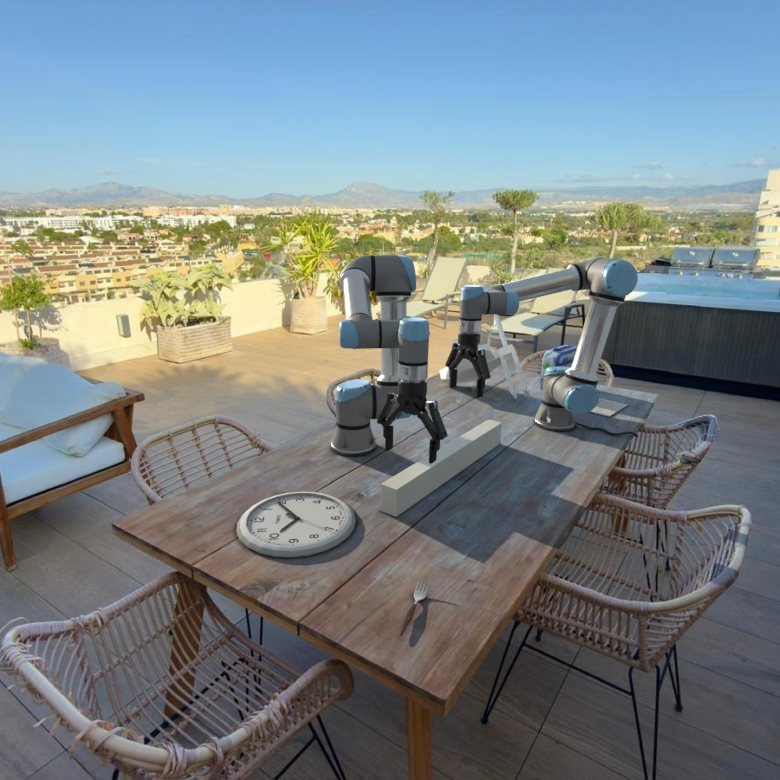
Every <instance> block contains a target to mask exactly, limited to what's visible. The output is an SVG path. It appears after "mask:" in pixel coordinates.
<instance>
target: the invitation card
mask: <svg viewBox="0 0 780 780" xmlns="http://www.w3.org/2000/svg"><path fill="white" fill-rule="evenodd" d="M628 406H629V404H627V403H623V402H618V401H614V400H609V399H605V398H601V397H599V401H598V403H597V405H596V407H595V408H594V409H593V410H591V411H589V412H588V413H593V414H596V415H600V416H604V417H608V418H609V417H611V416H613V415H614V414H616V413H617V412H619V411H621V410H623V409H624V408H626V407H628Z"/></svg>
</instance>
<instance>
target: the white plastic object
mask: <svg viewBox="0 0 780 780" xmlns="http://www.w3.org/2000/svg"><path fill="white" fill-rule="evenodd" d="M492 315H493V319H494V321H495V324H496V325H495V326H496V328H497V332H498V335H499V338H500V342H501V345H502V347H500V348H498V349H496V350H495V349H493V348H492V347H491V346H490V344H489V343H488V342H487V343H483V344H479V345H478V349H479V350H482V349H484V350H485V357H486V361H487V365H488V368H489V372H490V373H492V372H494V371H495V370H496V369H497V368H499V367H500V366H502V370H503V373H504V376H505V380H506V383H507V386H508V390H509V393H510V394H511V395H512V397H513V398H514V399H515V400H517V392H516V391H517V390H516V388H515V385H514V381H513V378H512V375H511V371H510V369H509V365H508V361H510V360H513V363H514V366H515V369H516V372H517V376H518V380H519V382H520V385H521V389H522V391H523V393H524V395H525V396H526V397H528V396H531V395H530V390H529V388H528V387H529V386H528V384H527V381H526V378H525V375H524V371H523V369H522V368H523V367H522V366H521V362H520V359H519V355H518V352H517V349H516V347H515V346H514V345H513V343H511V344H508V341H507V337H506V334H505V331H504V328H503V325H502V321H501V318H500V315H494V314H492ZM453 343H458V338H454V340H453ZM458 353H459V352H458ZM456 357H457V356H456ZM474 359H475V358H474ZM456 369H457V385H458V384H467V383H468V384H469V383H473V384H477V379H478V376H477V373H476V371H475V369H474V367H473V364H472V363H471V362H470V360H467V359H463V360H462V361H461V362H460V363H459V365H458V366H457V368H456ZM438 372H439V376H440V381H442V383H443V384H444V385H445V386H449V385H450V378H449V367H446V366H445V367H444V368H442V369H440V370H439V371H438ZM481 376H482V375H481Z"/></svg>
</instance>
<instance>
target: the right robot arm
mask: <svg viewBox="0 0 780 780" xmlns="http://www.w3.org/2000/svg"><path fill="white" fill-rule="evenodd" d="M638 281H639V276H638V271H637V270H636V267H635V266H634V265H633V264H632V263H631V262H630V261H627V260H624V259H622V258H611V257H601V256H600V257H595V258H594V257H593V258H591V259H587V260H584V261H583V260H582V261H580V262H576V263H572V264H568V266H567V268H564V269H560V270H556V271H552V272H548V273H543V274H539V275H535V276H530V277H527V278H523V279H519V280H514V281H509V282H505V283H502V284H501V283H500V284H497V285H493V286H490V285H487V286H483V285H478V284H475V285H474V284H466V285H462V287H461V289H460V294H459V295H460V296H459V313H458V314H459V316H458V331H459V332H458V333H457V339H458V343H454V342H452V345H451V350H450V353H449V355H448V357H447V359H446V362H445V363H444V364H445V368H446V367H449V378H450V385H448V386H449V387H448V388H450V389H453V388H457V385H458V384H457V369H456V368H457V366H458V365H459V363H460V362H461V361H462V360H463V359H467V360H470V362H471V363H472V364H473V367H474V369H475V371H476V373H477V376H478V379H477V383H475V384H476V387H475V398H476V399H481V398H484V390H485V388H486V380H488V379H491V378H492V377H491V372H489V368H488V365H487V361H486V357H485V350H484V349H482V350H479V349H478V345H481V333H480V332H482V322H483V321H482V319H483V315H493V314H494V315H498V316H500V315H501V316H503V315H505V316H508V315H515V314H516V313H518V311H519V308H520V302H525V301H529V300H532V299H537V298H541V297H546V296H549V295H553V294H557V293H561V292H566V291H570V290H571V291H572V292H578V291H589V292H588V295H587V296H588V298H589V300H590V304H589V307H588V311H587V314H586V316H585V320H584V324H583V327H582V330H581V335H580V337H579V340H578V344H577V345H576V346H577V350H576V353H575V356H574V359H573V363H572V366H571V367H548V368H546V370H545V373H544V381H543V390H541V391H542V394H541V402H540V405H539V407H538V410H537V411H536V413H535V416H534V424H535V425H536V426H537V427H539V428H542V429H544V430H549V431H556V432H567V431H572V430H574V429H575V428H576V425H577V426H580V427H583V428H585V429H587V430H592V431H601V432H604V433H606V434H608V435H610V436H616V437H617V436H625V435H632V436H634V437H635V438H639V435H638V434H637V433H635V432H633V431H624V432H612V431H609V430H608V429H605V428H602V427H592V426H588V425H586V424H584V423H581V422H578V421H576V418H575V417H576V416H575V415H586V414H588V413H590V412H589V411H591V410H593V409H594V408H595V407H596V405H597V403H598V401H599V398H600V394H599V391H598V389H597V386H598V383H599V377H598V375H597V371H598V368H599V365H600V361H601V358H602V356H603V353H604V351H605V350H604V349H605V346H606V343H607V341H608V337H609V334H610V331H611V328H612V325H613V322H614V318H615V315H616V312H617V309H618V307H619V306H622V305H623V304H624V303H625V300H626V298H627V297H626V296H628V295H630V294H631V293H632V292H633V291H634V290H635V289H636V287H637V284H638ZM494 315H493V316H494ZM458 352H459V353H458ZM456 356H457V357H456ZM474 358H475V359H474ZM481 375H482V376H481Z"/></svg>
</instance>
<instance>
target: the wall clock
mask: <svg viewBox="0 0 780 780" xmlns="http://www.w3.org/2000/svg"><path fill="white" fill-rule="evenodd" d="M356 522H357V518H356V515H355V512H354V510H353V509H352V508H351V507H350V505H349V504H348V503H346V502H345V501H343V500H341V499H339V497H335V496H332V495H329V494H327V493H321V492H315V491H293V492H285V493H280V494H275V495H273V496H270V497H268V498H264V499H262V500H260V501H259V502H257V503H255V504H253V505H251V506H250V507H249V508H247V510H246V511H245V512H244V513H242V514H241V516H240V518H239V519H238V521H237V523H236V535H237V537H238V540H239V541H240V542H241V544H242V545H244V546H245V547H246V548H248V549H249V550H251V551H253V552H255V553H257V554H261V555H265V556H269V557H273V558H300V557H309V556H312V555H316V554H320V553H323V552H327V551H328V550H331V549H333V548H335V547H337V546H339V545H340V544H342V543H343V542H344V541H345V540H347V539H348V538H349V537H350V536H351V534H352V533H353V531H354V530H355V526H356Z"/></svg>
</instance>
